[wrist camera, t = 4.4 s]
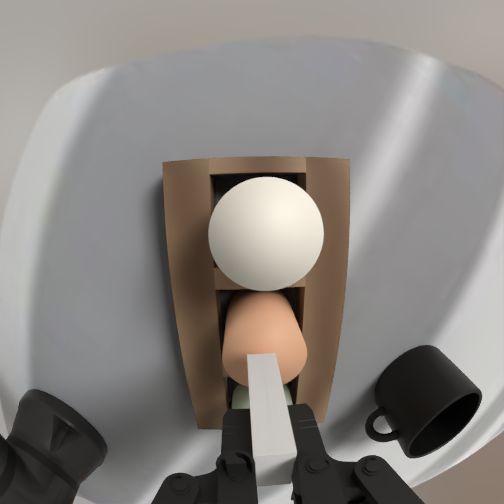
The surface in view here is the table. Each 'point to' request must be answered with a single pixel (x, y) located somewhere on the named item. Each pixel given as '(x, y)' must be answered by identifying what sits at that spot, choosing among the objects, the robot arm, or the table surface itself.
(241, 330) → the peach egg
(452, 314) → the table surface
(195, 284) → the wooden tray
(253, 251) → the white egg
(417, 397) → the mug
